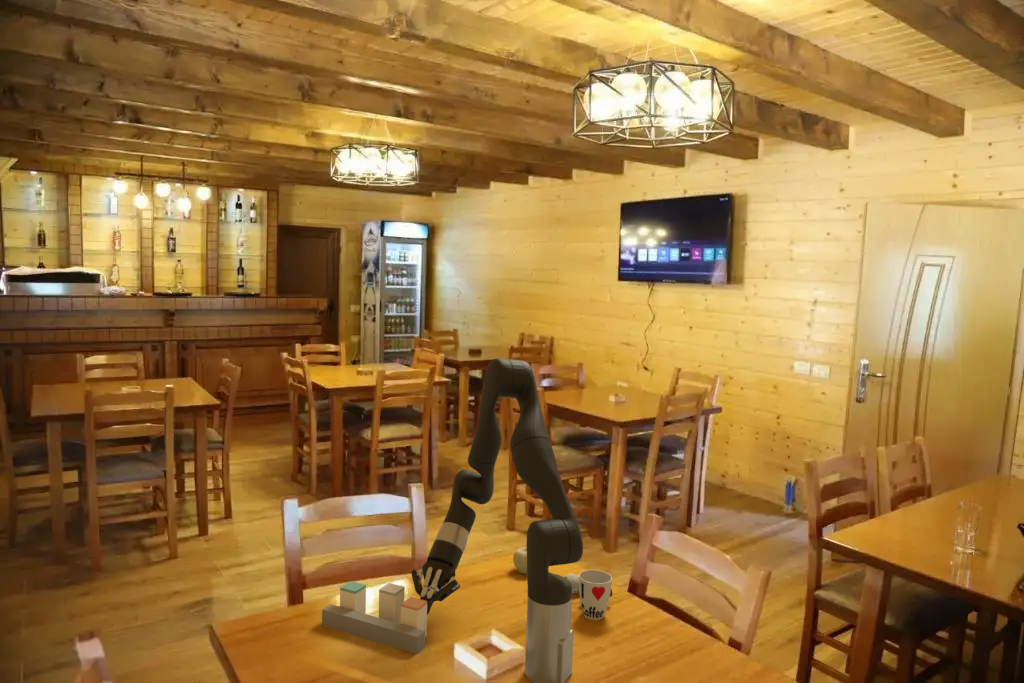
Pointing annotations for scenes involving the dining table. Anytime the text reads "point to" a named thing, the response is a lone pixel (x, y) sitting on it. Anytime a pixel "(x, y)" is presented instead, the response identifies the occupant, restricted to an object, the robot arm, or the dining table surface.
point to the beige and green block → (353, 596)
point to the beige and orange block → (414, 614)
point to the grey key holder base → (374, 628)
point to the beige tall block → (391, 602)
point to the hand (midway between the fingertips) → (420, 615)
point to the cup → (594, 593)
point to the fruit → (521, 560)
